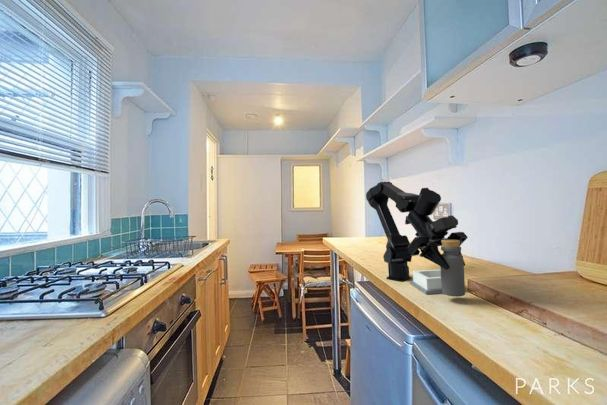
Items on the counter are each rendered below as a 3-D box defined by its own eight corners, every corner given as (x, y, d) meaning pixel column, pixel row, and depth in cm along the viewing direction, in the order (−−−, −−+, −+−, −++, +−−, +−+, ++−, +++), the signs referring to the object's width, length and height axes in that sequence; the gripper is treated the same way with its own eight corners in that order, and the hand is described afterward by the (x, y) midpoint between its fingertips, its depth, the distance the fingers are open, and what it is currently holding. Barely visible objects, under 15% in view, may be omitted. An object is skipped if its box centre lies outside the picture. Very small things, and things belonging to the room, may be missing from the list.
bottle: (444, 296, 78) (441, 241, 78) (439, 289, 84) (437, 239, 84) (468, 297, 77) (465, 241, 77) (461, 290, 83) (458, 238, 83)
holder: (410, 283, 99) (409, 270, 99) (444, 281, 99) (443, 268, 99) (426, 294, 87) (425, 279, 87) (464, 291, 87) (463, 277, 87)
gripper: (412, 209, 81) (447, 253, 70) (460, 205, 88) (498, 245, 77) (395, 234, 88) (424, 278, 78) (440, 229, 95) (473, 269, 85)
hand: (456, 267), depth 79 cm, fingers closed on bottle, 6 cm apart
